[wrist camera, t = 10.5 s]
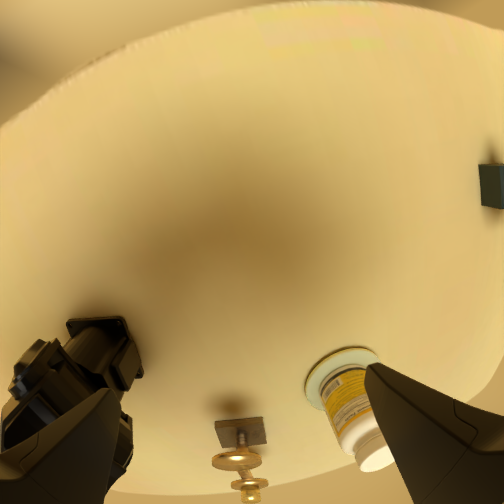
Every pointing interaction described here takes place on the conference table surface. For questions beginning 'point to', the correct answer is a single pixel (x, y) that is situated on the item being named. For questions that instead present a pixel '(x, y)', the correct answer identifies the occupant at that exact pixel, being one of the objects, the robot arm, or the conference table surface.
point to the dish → (330, 365)
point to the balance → (242, 454)
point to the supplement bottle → (354, 418)
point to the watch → (492, 185)
